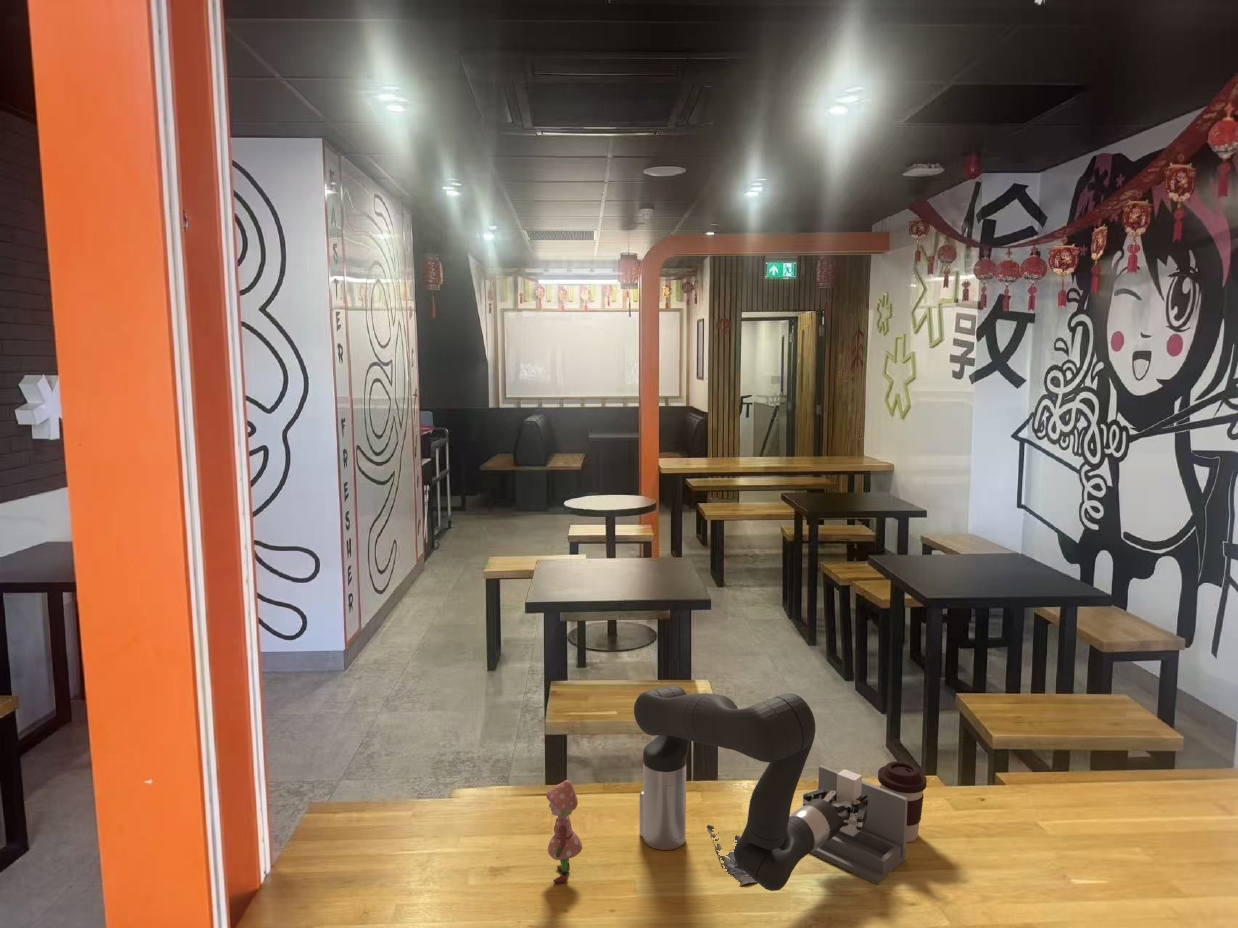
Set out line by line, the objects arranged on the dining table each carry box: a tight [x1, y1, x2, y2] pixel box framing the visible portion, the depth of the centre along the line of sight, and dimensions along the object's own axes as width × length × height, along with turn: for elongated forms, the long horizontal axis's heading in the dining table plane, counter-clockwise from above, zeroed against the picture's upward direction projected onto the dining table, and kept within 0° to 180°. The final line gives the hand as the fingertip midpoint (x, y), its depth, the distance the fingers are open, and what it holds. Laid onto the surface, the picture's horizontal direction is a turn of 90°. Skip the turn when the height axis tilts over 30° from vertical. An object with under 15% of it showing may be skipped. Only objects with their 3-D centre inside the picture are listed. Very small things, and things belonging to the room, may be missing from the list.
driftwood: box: [706, 824, 757, 887], centre depth 163 cm, size 21×7×2 cm, turn 5°
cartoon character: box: [545, 779, 583, 884], centre depth 154 cm, size 10×7×20 cm
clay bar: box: [836, 769, 863, 836], centre depth 163 cm, size 4×3×12 cm
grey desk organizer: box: [809, 764, 908, 886], centre depth 163 cm, size 20×12×13 cm, turn 45°
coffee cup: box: [877, 761, 928, 843], centre depth 170 cm, size 10×10×15 cm
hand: (855, 794), depth 165 cm, fingers closed on clay bar, 4 cm apart
